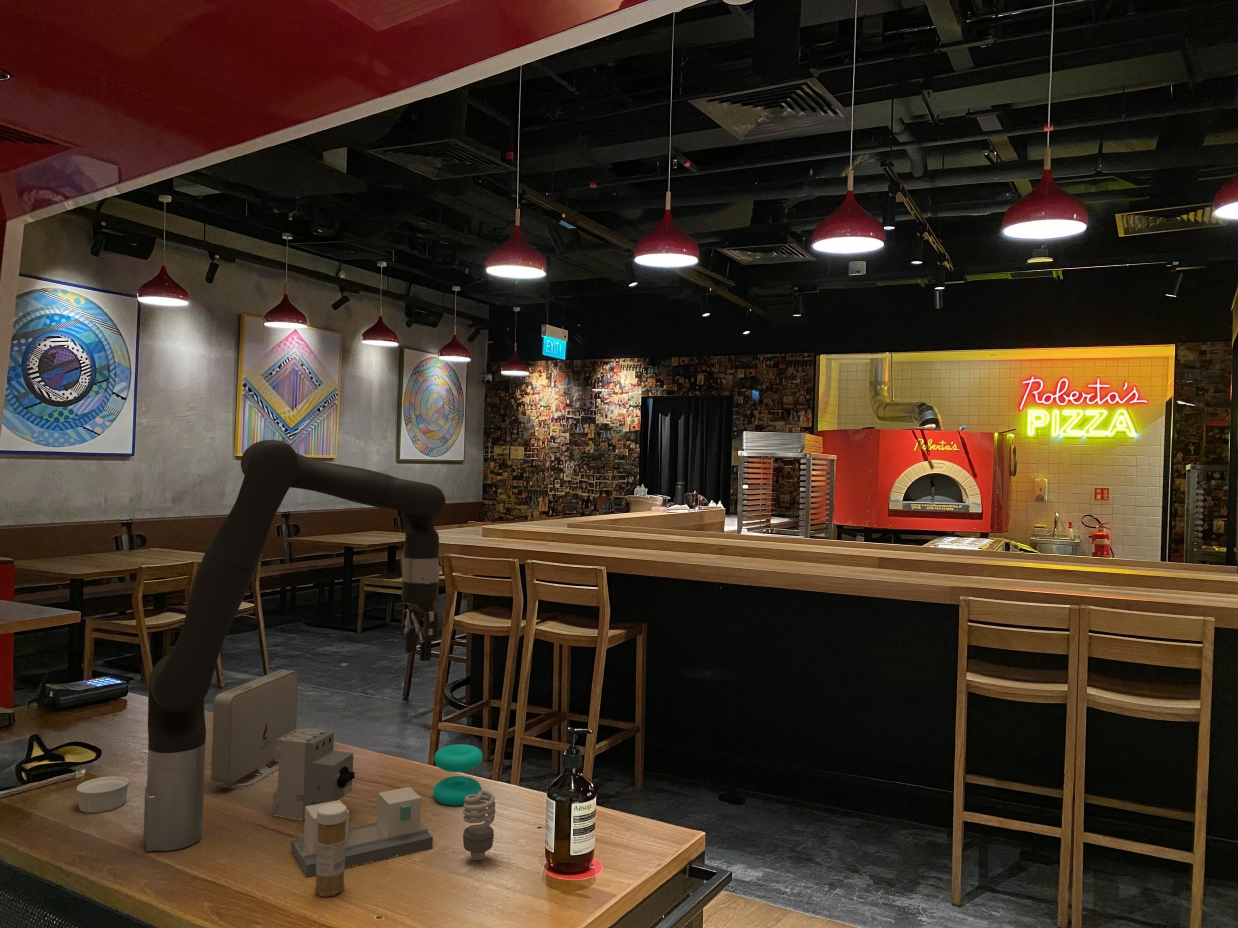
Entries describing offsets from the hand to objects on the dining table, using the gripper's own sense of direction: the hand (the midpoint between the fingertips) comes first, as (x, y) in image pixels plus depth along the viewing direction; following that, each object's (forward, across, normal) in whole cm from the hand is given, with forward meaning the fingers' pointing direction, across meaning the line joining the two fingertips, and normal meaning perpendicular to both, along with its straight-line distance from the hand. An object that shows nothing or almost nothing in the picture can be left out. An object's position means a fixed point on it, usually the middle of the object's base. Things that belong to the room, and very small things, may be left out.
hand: (417, 656), depth 178 cm
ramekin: (+30, -24, -54) cm, 67 cm away
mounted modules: (+27, +20, -17) cm, 37 cm away
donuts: (+29, +6, +8) cm, 31 cm away
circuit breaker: (+29, 0, -20) cm, 35 cm away
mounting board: (+29, +20, -16) cm, 39 cm away
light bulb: (+29, +34, -1) cm, 45 cm away
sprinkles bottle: (+29, +32, -26) cm, 50 cm away
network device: (+29, -29, -25) cm, 49 cm away
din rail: (+27, +20, -17) cm, 37 cm away
